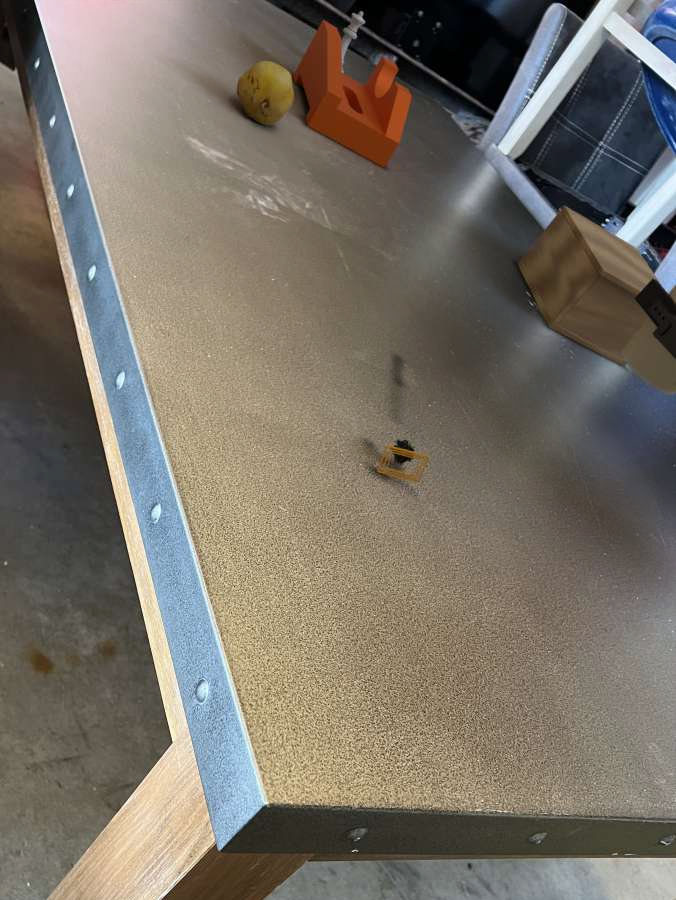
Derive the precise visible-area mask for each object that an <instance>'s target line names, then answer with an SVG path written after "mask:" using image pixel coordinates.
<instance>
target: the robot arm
mask: <svg viewBox="0 0 676 900" xmlns="http://www.w3.org/2000/svg"><path fill="white" fill-rule="evenodd" d="M658 281H659V280H658ZM658 281H657V280H655V279H652V280H651V281H650V282H649V283H648V284H647V285H646V286H645V287H644V289H643V290H642V291H641V292H640V293H639V294H638V295H637V296H636V297H635V298H634V299H635V300H636V301H637V302H638V304H639V305H640V306H641V307H642V309H643V310H644V311H645V312H646V314H647V315H648V316H649V317H650V319H651V320H652V321H653V322H654V324H655V325H656V326H657V327H658V328H657V329H656V330H655V331H654V332H653V335H654V337H655V338H656V339H657V340H658V341H659V342H660V343H661V344H662V345H663V346H664V347H665V348H666V349H667V350H668V352H669V353H670V354H671V355H672V356H673V357H674V358H675V359H676V303H675V302H674V301H673V299H672V298H671V296H670V295H669V292H667V290H666V289H665V287H663V285H662V284H661V282H660V281H659V282H660V283H659V282H658ZM660 284H661V285H662V286H661V285H660Z"/></svg>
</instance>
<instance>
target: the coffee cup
mask: <svg viewBox="0 0 676 900" xmlns="http://www.w3.org/2000/svg"><path fill="white" fill-rule="evenodd" d="M668 294H669V295H670V296H671V298H672V299H673V301H674V302H675V303H676V284H675V285H674V286H673V287H672V288H671V290H670V291H669V292H668ZM657 328H658V327H657V326H656V325H655V324H654V322H653V321H652V320H651V319H650V317H649V318H648V319H647V320H646V322H645V323H644V324H643V325H642V327H641V328H640V329H639V330H638V331H637V333H636V334H635V335H634V336H633V338H632V339H631V340H630V341H629V343H628V344H627V345H626V346H625V348H624V349H623V351H622V356H623V358H624V360H625V362H626V363H627V364H626V365H627V366H628V367H629V369H630V370H631V371H632V372H633V373H634V374H635V375H636V376H637V377H638V378H639V379H641V380H642V381H643V382H644V383H646V384H647V385H648V386H649V387H651V388H653V389H654V390H656V391H658V392H660V393H661V394H663V395H667V396H668V395H669V396H674V395H675V394H676V359H675V358H674V357H673V356H672V355H671V354H670V353H669V352H668V350H667V349H666V348H665V347H664V346H663V345H662V344H661V343H660V342H659V341H658V340H657V339H656V338H655V337H654V335H653V332H654V331H655V330H656V329H657Z"/></svg>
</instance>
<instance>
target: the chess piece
mask: <svg viewBox="0 0 676 900" xmlns="http://www.w3.org/2000/svg"><path fill="white" fill-rule="evenodd" d="M363 16H364V12H363V10H361V11H359V12H358V13H357V14H356V13H355V12H352V13H351V22H350V24H349V25H348V26H347V27H343V29H342V32H343V33H344V35H343V37H341V42H342V73H344V68H343V65H344V64H345V60H344V59H345V55H346V52H347V50H348V48H349V46H350V43H351V41H352V40H356V39H357V38H358V35H357V32H358V29H359V28H360V27H361V26H363V25H365V24H366V21H365V19H364V18H363Z"/></svg>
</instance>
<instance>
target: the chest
mask: <svg viewBox="0 0 676 900" xmlns="http://www.w3.org/2000/svg"><path fill="white" fill-rule="evenodd" d="M517 266H518V269H519V271H520V273H521V275H522V276H523V278H524V281H525V283H526V285H527V287H528V289H529V290H530V292H531V295H532V296H533V299H534V300H535V303H536V305H537V307H538V309H539V311H540V313H541V315H542V317H543V319H544V321H545V323H546V325H547V327H548V328H549V329H551V330H553V331H555V332H557V333H559V334H561V335H562V336H564V337H566V338H567V339H570V340H572V341H574V342H576V343H578V344H579V345H582V346H583V347H586V348H587V349H589V350H591V351H593V352H595V353H597V354H599V355H601V356H603V357H605V358H607V359H608V360H610V361H612V362H614V363H616V364H617V365H620V366H622V367H626V365H627V363H626V362H625V360H624V358H623V356H622V351H623V349H624V348H625V346H626V345H627V344H628V343H629V341H630V340H631V339H632V338H633V336H634V335H635V334H636V333H637V331H638V330H639V329H640V328H641V327H642V325H643V324H644V323H645V322H646V320H647V319H648V318H649V316H648V315H647V314H646V312H645V311H644V310H643V309H642V307H641V306H640V305H639V304H638V302H637V301H636V300H635V299H634V298H635V297H636V295H634V294H632V293H631V292H629V291H627V290H625V289H624V288H622V287H620V286H618V285H616V284H615V283H613V282H611V281H609V280H608V279H606V278H604V277H602V276H601V275H599V274H598V272H597V271H596V269H595V267H594V266H593V264H592V262H591V261H590V259H589V257H588V256H587V254H586V252H585V251H584V249H583V247H582V245H581V244H580V242H579V240H578V239H577V237H576V235H575V234H574V232H573V230H572V229H571V227H570V225H569V224H568V222H567V220H566V219H565V217H564V215H563V214H562V212H561V210H559V211H558V212H557V213H556V215H555V216H554V217H553V219H551V221H550V222H549V223H548V225H547V226H546V227H545V229H544V230H543V231H542V232H541V234H540V235H539V236H538V238H537V239H536V240H535V241H534V242H533V244H532V245H531V246H530V247H529V249H528V250H527V252H525V253H524V255H523V256H522V258H521V259H520V260H519V261H518V263H517Z"/></svg>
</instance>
